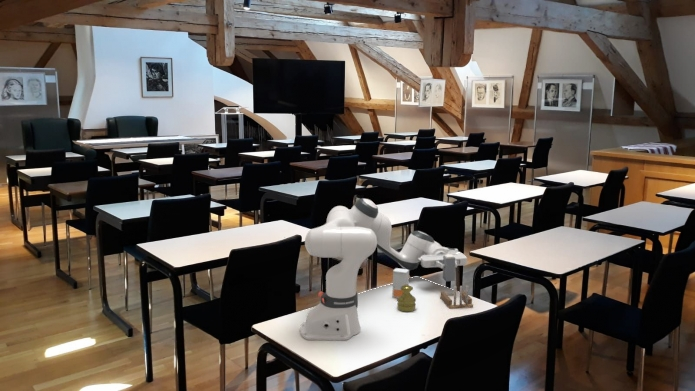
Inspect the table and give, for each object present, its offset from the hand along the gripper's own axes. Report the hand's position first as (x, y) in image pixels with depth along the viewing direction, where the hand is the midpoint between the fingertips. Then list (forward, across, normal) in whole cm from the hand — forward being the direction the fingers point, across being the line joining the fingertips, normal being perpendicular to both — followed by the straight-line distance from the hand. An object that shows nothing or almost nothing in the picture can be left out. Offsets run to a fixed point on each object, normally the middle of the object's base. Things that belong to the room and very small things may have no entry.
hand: (449, 266), depth 242 cm
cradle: (+9, 0, +13) cm, 15 cm away
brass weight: (+12, -22, +13) cm, 28 cm away
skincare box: (-1, -21, +13) cm, 25 cm away
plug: (0, 0, +6) cm, 6 cm away
